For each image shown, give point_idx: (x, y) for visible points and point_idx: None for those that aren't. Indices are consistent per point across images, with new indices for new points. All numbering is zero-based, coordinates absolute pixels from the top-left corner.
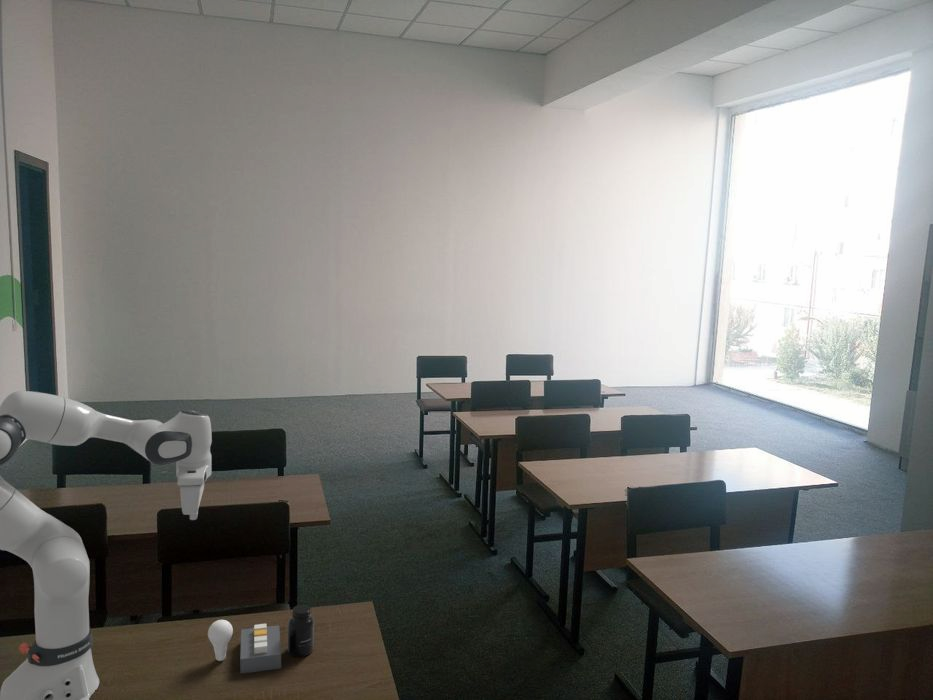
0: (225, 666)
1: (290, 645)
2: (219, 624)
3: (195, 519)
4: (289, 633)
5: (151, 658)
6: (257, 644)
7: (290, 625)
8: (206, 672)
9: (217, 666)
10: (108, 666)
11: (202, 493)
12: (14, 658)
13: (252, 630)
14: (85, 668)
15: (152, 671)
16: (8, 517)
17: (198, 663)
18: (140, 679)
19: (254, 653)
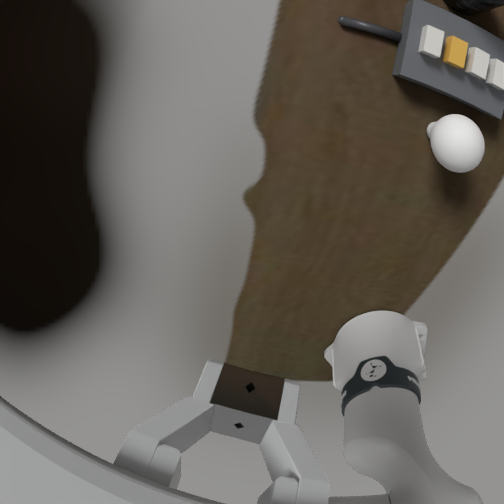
0: None
1: (481, 12)
2: (477, 154)
3: (298, 384)
4: (489, 8)
5: (361, 239)
6: (498, 79)
7: (499, 4)
8: None
9: None
10: (348, 296)
11: (13, 420)
12: None
13: (414, 54)
14: (417, 356)
15: (402, 243)
16: None
17: (422, 169)
18: (412, 262)
19: (498, 89)
